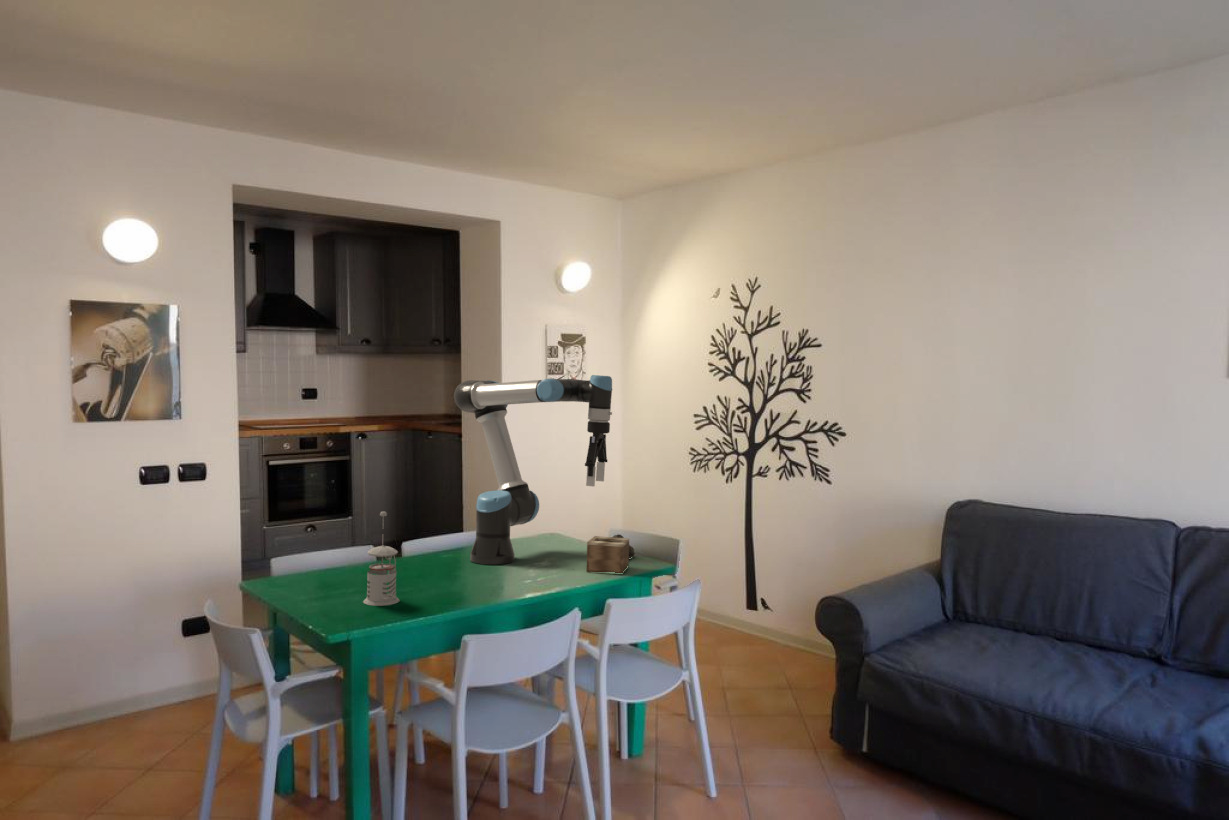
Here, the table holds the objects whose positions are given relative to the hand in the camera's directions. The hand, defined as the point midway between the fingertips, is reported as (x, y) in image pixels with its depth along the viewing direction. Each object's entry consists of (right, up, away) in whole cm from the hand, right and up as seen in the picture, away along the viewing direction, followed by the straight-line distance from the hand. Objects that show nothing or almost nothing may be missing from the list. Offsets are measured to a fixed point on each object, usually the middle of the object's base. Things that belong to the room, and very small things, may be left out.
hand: (595, 483), depth 279 cm
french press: (-58, -28, -49) cm, 81 cm away
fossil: (+8, -28, +16) cm, 34 cm away
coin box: (+4, -29, -4) cm, 29 cm away
